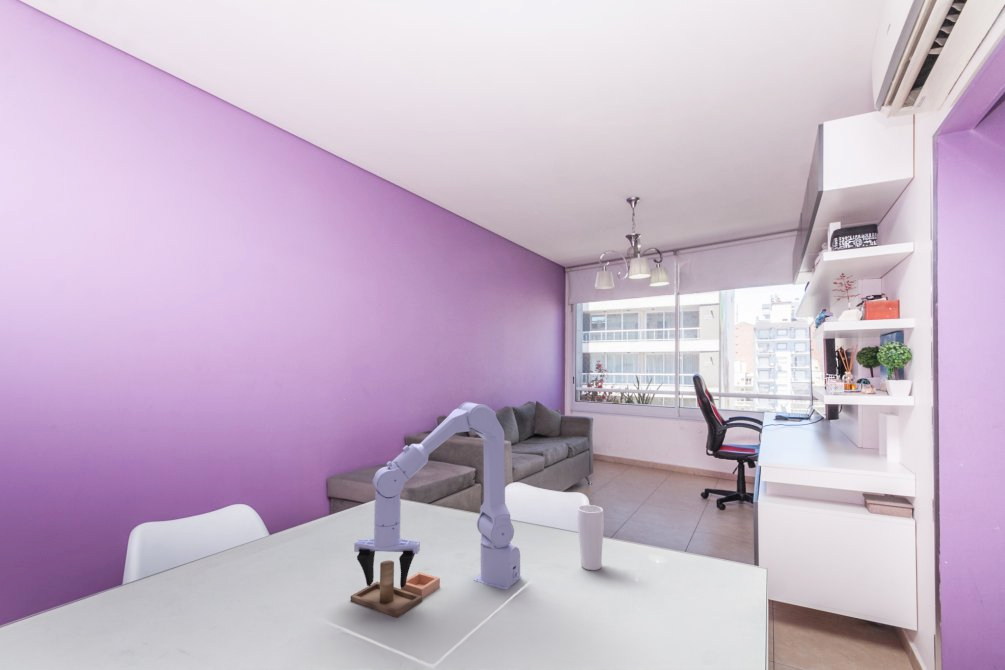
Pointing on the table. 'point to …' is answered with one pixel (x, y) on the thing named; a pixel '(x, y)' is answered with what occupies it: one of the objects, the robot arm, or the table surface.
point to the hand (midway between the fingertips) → (386, 584)
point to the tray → (395, 608)
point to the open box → (421, 584)
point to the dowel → (386, 581)
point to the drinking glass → (590, 536)
